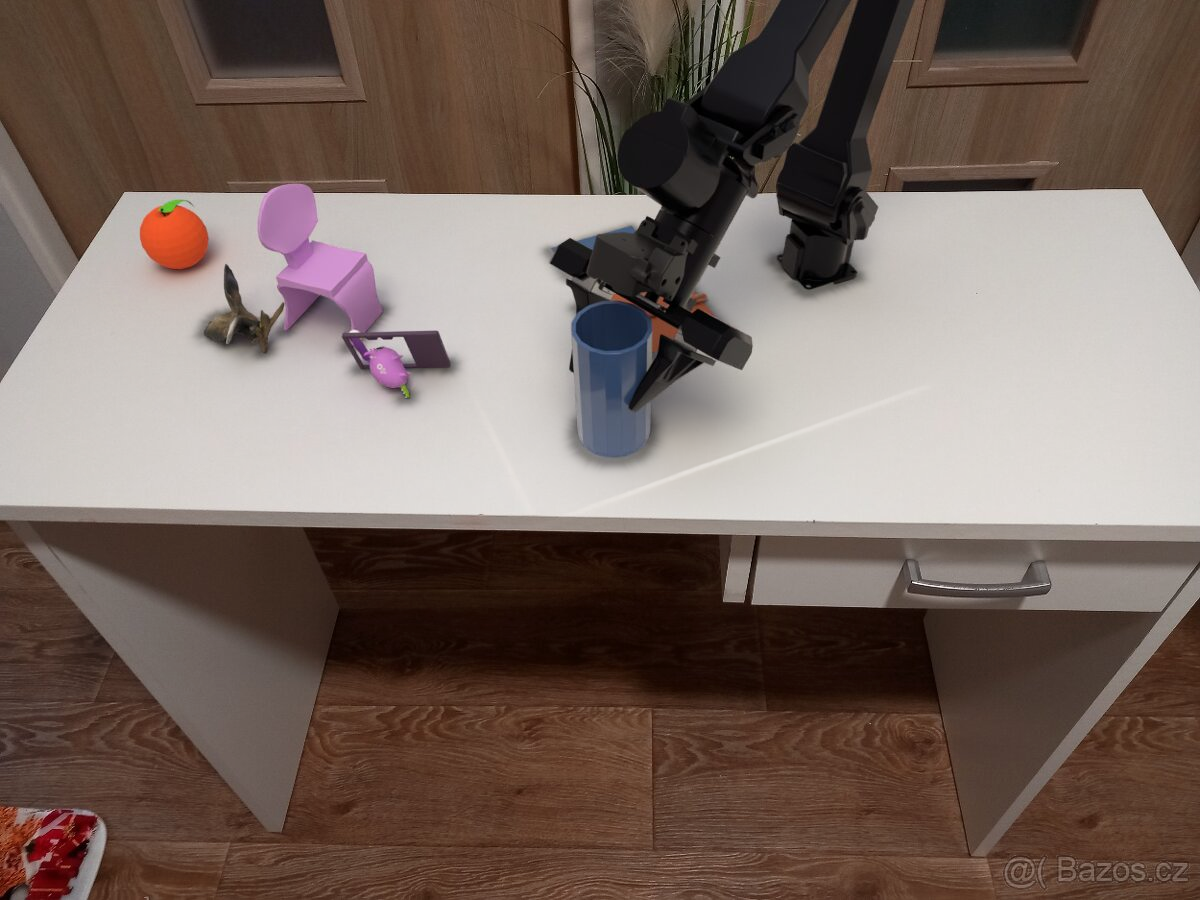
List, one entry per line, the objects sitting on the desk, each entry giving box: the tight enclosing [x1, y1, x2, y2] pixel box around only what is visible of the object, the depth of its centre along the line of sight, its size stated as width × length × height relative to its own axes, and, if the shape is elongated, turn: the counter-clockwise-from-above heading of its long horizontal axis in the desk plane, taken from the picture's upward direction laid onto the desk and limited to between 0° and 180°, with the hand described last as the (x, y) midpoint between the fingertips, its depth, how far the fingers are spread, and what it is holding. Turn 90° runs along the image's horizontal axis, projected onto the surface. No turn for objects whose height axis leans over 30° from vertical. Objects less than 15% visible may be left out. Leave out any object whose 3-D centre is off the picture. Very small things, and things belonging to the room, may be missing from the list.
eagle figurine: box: [203, 263, 286, 354], centre depth 92 cm, size 8×7×9 cm
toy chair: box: [257, 183, 384, 347], centre depth 89 cm, size 8×9×15 cm
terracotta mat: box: [611, 290, 716, 354], centre depth 93 cm, size 12×10×1 cm
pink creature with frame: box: [341, 329, 451, 399], centre depth 86 cm, size 7×5×9 cm
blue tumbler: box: [570, 301, 653, 459], centre depth 78 cm, size 7×7×13 cm
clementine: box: [139, 199, 210, 270], centre depth 100 cm, size 8×7×7 cm
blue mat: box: [551, 225, 637, 253], centre depth 101 cm, size 10×5×1 cm, turn 114°
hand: (602, 391), depth 78 cm, fingers closed on blue tumbler, 7 cm apart
